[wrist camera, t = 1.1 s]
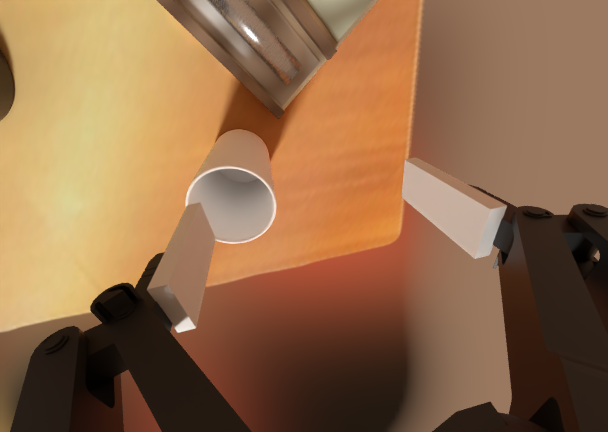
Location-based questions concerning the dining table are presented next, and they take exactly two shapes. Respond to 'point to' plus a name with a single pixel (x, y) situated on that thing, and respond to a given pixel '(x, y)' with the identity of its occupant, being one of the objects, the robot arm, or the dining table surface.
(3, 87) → the robot arm
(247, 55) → the rack
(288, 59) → the rod
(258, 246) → the dining table surface
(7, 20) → the dining table surface
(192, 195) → the cup
